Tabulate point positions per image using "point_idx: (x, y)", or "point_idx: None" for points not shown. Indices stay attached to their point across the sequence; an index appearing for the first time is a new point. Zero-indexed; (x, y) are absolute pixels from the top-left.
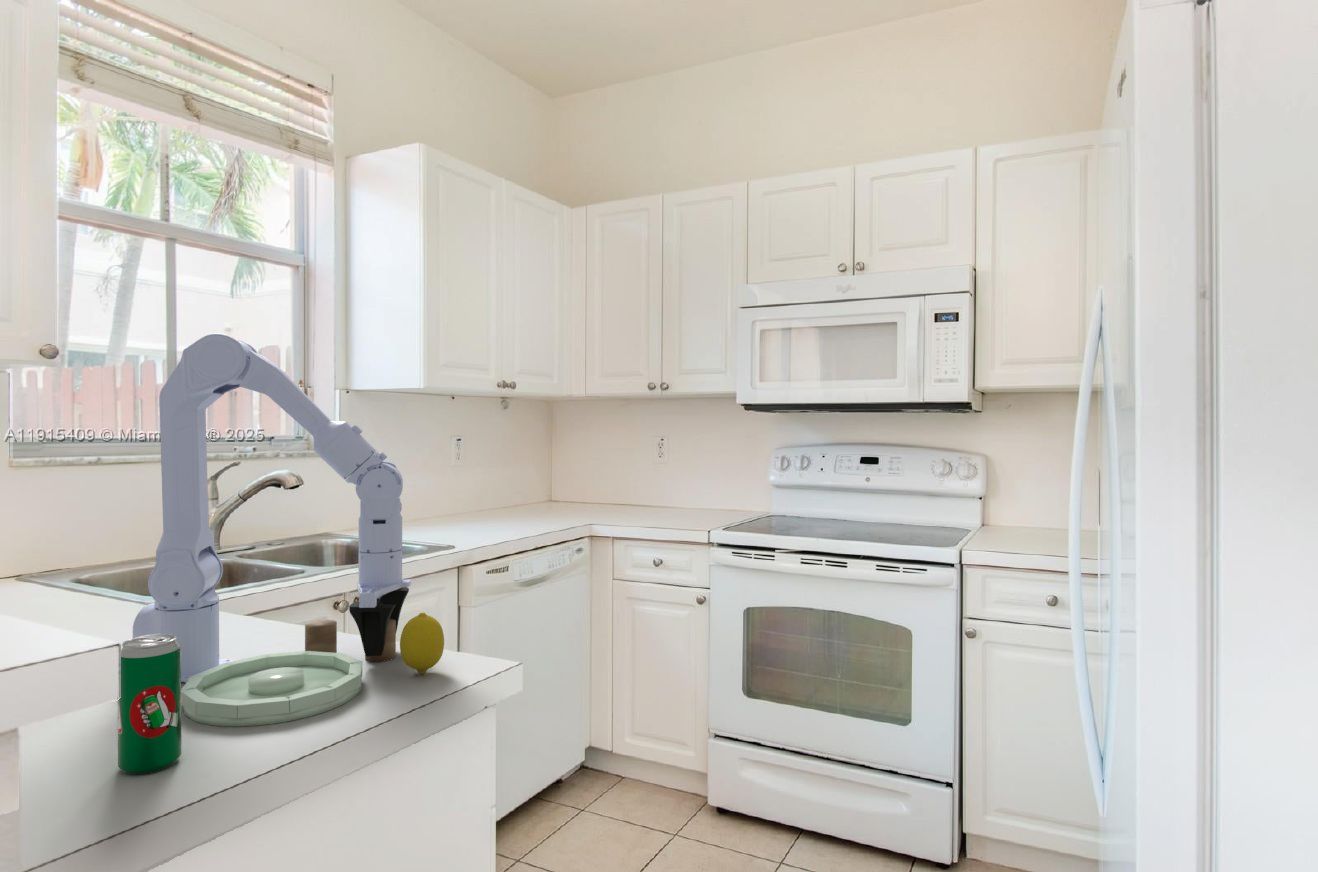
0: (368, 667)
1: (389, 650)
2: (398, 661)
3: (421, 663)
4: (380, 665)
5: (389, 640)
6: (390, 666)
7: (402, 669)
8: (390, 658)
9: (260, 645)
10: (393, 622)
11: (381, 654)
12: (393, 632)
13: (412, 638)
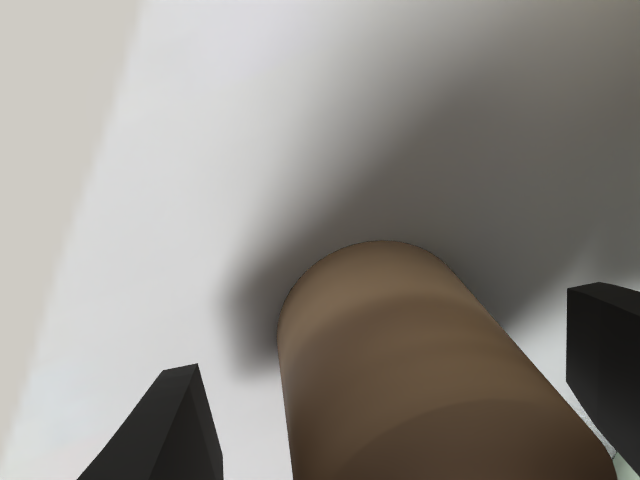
0: None
1: (457, 282)
2: (456, 183)
3: None
4: (535, 264)
5: (488, 320)
6: (562, 192)
7: (637, 83)
8: (427, 254)
9: None
10: (481, 410)
11: (603, 283)
12: (466, 338)
13: None
